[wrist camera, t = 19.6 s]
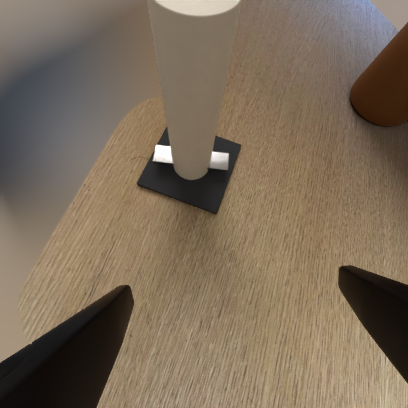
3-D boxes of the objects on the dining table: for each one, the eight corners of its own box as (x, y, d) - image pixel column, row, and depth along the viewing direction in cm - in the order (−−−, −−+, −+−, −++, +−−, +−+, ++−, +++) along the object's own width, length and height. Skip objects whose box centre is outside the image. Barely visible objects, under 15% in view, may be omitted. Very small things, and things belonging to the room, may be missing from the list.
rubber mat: (216, 214, 18) (216, 213, 18) (137, 184, 19) (136, 183, 18) (240, 146, 21) (241, 144, 21) (170, 121, 21) (170, 119, 21)
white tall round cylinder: (227, 152, 20) (287, -31, 8) (225, 184, 19) (291, 30, 7) (159, 144, 20) (109, -59, 8) (153, 175, 19) (82, -1, 6)
